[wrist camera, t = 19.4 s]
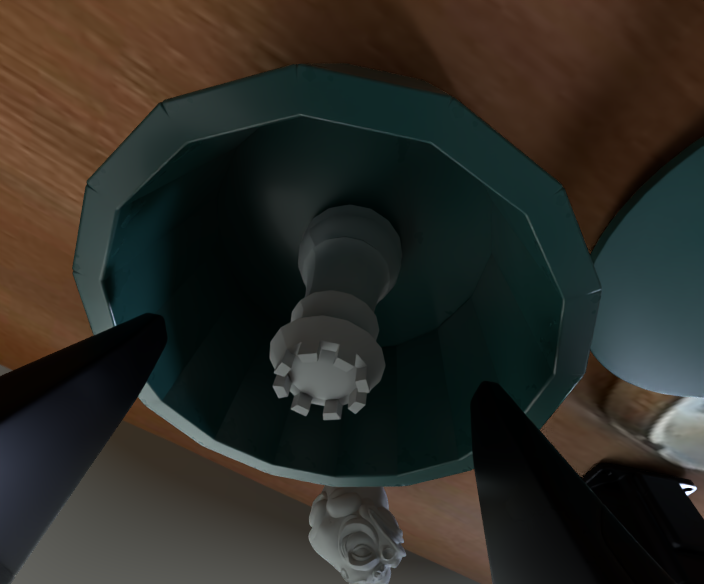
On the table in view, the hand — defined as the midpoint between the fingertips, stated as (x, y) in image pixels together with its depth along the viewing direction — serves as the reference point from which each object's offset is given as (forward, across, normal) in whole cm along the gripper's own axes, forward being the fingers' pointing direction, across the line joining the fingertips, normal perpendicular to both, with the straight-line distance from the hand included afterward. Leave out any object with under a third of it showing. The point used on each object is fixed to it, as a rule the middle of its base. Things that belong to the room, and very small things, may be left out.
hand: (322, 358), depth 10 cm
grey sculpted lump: (+8, -4, +19) cm, 21 cm away
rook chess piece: (+7, 0, 0) cm, 7 cm away
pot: (+8, 0, 0) cm, 8 cm away
